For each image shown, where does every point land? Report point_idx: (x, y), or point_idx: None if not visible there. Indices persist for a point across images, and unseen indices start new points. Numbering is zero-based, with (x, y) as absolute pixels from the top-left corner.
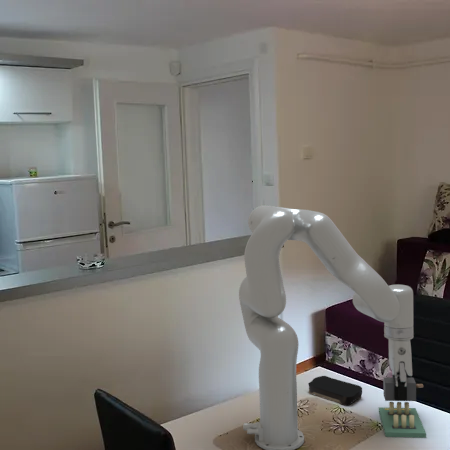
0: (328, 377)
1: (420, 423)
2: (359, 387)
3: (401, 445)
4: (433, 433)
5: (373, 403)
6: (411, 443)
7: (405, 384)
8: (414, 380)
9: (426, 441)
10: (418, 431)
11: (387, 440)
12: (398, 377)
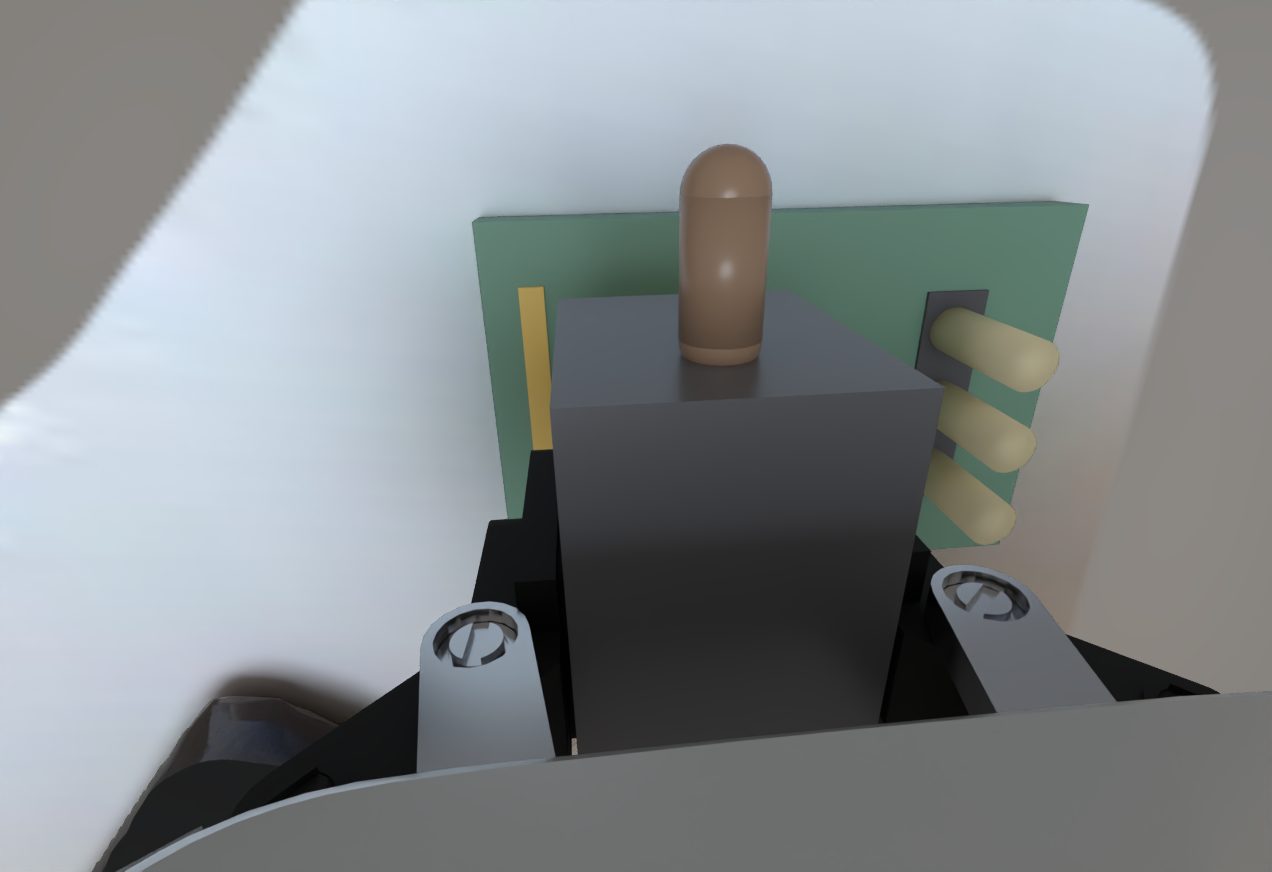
0: None
1: (873, 227)
2: (202, 779)
3: (1127, 425)
4: (981, 103)
5: (344, 590)
6: (1118, 346)
7: (1040, 623)
8: (749, 401)
9: (1117, 209)
10: (1041, 276)
11: (1031, 513)
12: (563, 704)
